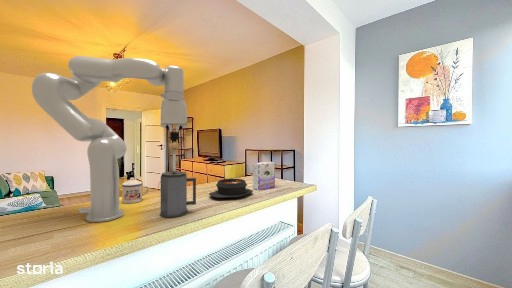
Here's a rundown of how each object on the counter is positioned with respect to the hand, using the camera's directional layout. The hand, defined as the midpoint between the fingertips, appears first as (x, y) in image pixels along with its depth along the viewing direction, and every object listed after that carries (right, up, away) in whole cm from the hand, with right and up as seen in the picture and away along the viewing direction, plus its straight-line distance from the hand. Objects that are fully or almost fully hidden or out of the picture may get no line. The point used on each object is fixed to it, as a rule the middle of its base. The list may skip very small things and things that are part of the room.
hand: (174, 141), depth 95 cm
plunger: (0, -21, +1) cm, 21 cm away
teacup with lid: (-26, -30, +19) cm, 44 cm away
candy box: (+39, -29, +50) cm, 70 cm away
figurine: (-10, -30, +18) cm, 36 cm away
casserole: (+21, -30, +30) cm, 47 cm away
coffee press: (+1, -30, +1) cm, 30 cm away
